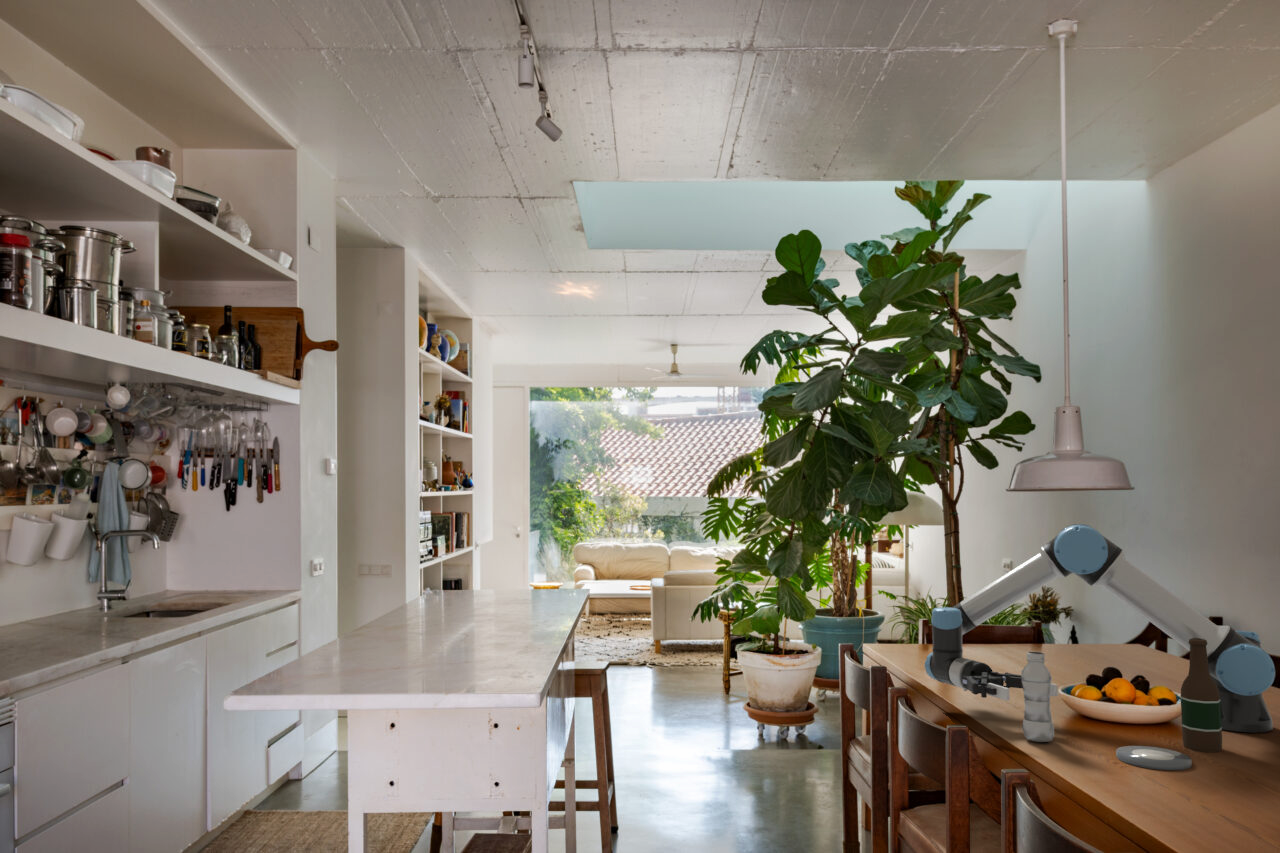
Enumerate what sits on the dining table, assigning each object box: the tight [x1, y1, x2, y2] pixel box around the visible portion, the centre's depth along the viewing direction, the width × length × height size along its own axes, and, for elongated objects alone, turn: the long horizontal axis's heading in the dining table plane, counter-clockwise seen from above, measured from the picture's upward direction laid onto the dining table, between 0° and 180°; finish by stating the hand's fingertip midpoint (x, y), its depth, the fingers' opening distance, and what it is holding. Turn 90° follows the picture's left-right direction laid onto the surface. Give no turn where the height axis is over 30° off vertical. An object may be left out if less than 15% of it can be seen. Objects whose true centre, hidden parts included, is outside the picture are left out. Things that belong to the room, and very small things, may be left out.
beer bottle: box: [1180, 638, 1223, 753], centre depth 207 cm, size 8×8×24 cm
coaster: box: [1115, 745, 1193, 771], centre depth 196 cm, size 14×14×1 cm
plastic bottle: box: [1020, 651, 1055, 743], centre depth 212 cm, size 6×7×20 cm
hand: (1032, 692), depth 213 cm, fingers open, 13 cm apart
